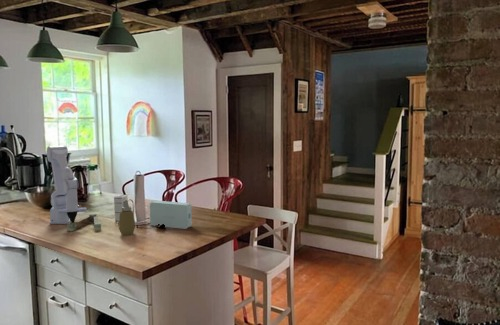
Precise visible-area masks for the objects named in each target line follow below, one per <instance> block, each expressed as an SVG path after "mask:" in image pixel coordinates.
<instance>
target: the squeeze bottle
mask: <svg viewBox="0 0 500 325" xmlns="http://www.w3.org/2000/svg"><path fill="white" fill-rule="evenodd" d="M135 228H136V223H135V216H134V211H133V210H132V207H131V206H130V205H129V201H127V200H125V203H124V207H122V211H121V212H120V219H119V221H118V229H119V232H120V234H121V235H122V236H124V237H125V236H131V235H134V232H135Z"/></svg>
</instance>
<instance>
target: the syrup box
mask: <svg viewBox="0 0 500 325" xmlns="http://www.w3.org/2000/svg"><path fill="white" fill-rule="evenodd" d="M125 200H127V201H128V195H127V194H118V195H116V196H115V195H114V196H113V207H114V221H116V222H119V219H120V212H121V211H122V207H124V203H125ZM128 202H129V201H128Z"/></svg>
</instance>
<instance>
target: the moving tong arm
mask: <svg viewBox="0 0 500 325" xmlns="http://www.w3.org/2000/svg"><path fill="white" fill-rule="evenodd" d="M88 224H90V216H89V215H87V216H83V218H80V219H77V220H75V221H74V222H73V223H71V222H68V223H67V224H66V232H74V231H76V230H78V229H80V228H82V227H84V226H86V225H88Z"/></svg>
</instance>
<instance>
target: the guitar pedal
mask: <svg viewBox="0 0 500 325" xmlns="http://www.w3.org/2000/svg"><path fill="white" fill-rule="evenodd" d="M192 216H193V215H192V204H191V203H189V202H181V201H180V202H179V201H177V202H176V201H168V200H167V201H164V200H155V201H152V202H150V203H149V218H150V219H149V221H150V225H151V226H154V227H156V226H155V225H158V224H164V225H165V227H164V228H173V229H184V230H186V229H188V228H190V227H191V226H192V224H193V221H192Z"/></svg>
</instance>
